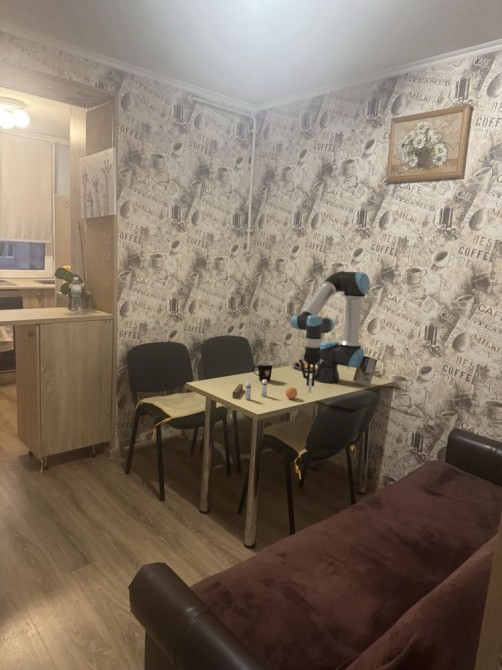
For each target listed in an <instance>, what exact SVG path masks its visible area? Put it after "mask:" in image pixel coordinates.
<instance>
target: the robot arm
mask: <svg viewBox="0 0 502 670" xmlns="http://www.w3.org/2000/svg"><path fill="white" fill-rule="evenodd" d="M370 286H371V283H370V278H369V275H368V274H367V273H366V272H360V271H344V270H342V271H337V272H334V273H332V274H331V275H329V276H327V277H326V278H325V279H324V280H323V282H322V283H321V284H320V288H319V289H318V291H316V292H317V293H315V295H314V296H313V297H312V298H311V300H310V302H309V303H308V304H307V305H306V306H305V308H304V309H303V311H302V312H300V314H295V315H293V316H292V317H291V321H290V324H291V328H293V329H294V330H295V329H296V330H300V331H305V348H304V355H303V357H301V358H299V359H298V360H299V361H298V362H300V363H301V367H302V370H301V372H302V377H303V379H305V380H306V386H307V387H308V388H307V389H308V390H307V391H308V392H307V393H308V394H312V387H314V386H315V381H316V382H320V383H325V384H326V383H327V384H334V383H338V382H339V383H340V374H339V369H338V366H342V367H347V368H354V369H355V368H357V367H358V366H360V364H361V363H362V361H363V358H364V356H365V350H364V349H363V348H362V345H361V342H360V341H359V339H360V328H361V316H362V315H361V314H362V303H363V300H364V298H365V296H366V294H368V293H369V291H370ZM337 293H343V297H344V298H346V301H345V314H344V326H343V327H344V328H343V338H342V341H341V342H340V343H339V341H336V340H334V341H333V340H331V341H330V340H329V341H322V334H327V333H330V332H332V331H333V330H334V329H335V323H334V320H333V319H332V318H330V317H323V316H321V315H319V313H320V312H321V311H322V309H324V307H325V305H326V304H327V302H328V301H329V300H330V299H331V297H333V296H335V295H336V294H337ZM304 361H306V363H307V364H308V369H307V371H305V367H304ZM317 363H318V366H317V369H316V372H315V365H316V364H317ZM310 365H313V371H310ZM306 372H307V373H306ZM310 372H312V374H311V373H310ZM310 374H311V375H310ZM310 376H312V377H311V378H310Z"/></svg>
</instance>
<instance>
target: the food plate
mask: <svg viewBox="0 0 502 670" xmlns="http://www.w3.org/2000/svg"><path fill="white" fill-rule="evenodd" d="M317 366H318V363H317V364H316V365H315V371H316V369H317ZM291 367H294V368H296V369H298V370H299V371H302V367H301V363H300V362H299V361H295V362H293V363H291ZM304 367H305V372H307V369H308V364H307V363H306V361H305V360H304ZM312 371H313V365H310V372H312Z"/></svg>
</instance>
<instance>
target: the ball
mask: <svg viewBox="0 0 502 670" xmlns="http://www.w3.org/2000/svg"><path fill="white" fill-rule="evenodd" d="M284 392H285V396H286V397H287V398H288V399H291V400H292V399H295V398H296V397H297V396H298V390H297V388H295V387H294V386H290V387H287V389H286V390H285V391H284Z"/></svg>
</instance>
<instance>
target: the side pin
mask: <svg viewBox="0 0 502 670" xmlns="http://www.w3.org/2000/svg"><path fill="white" fill-rule="evenodd" d="M251 389H252V383H251V382H248V381H247V382H245V400H246V401H251V396H252V395H251V393H252V392H251Z"/></svg>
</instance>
